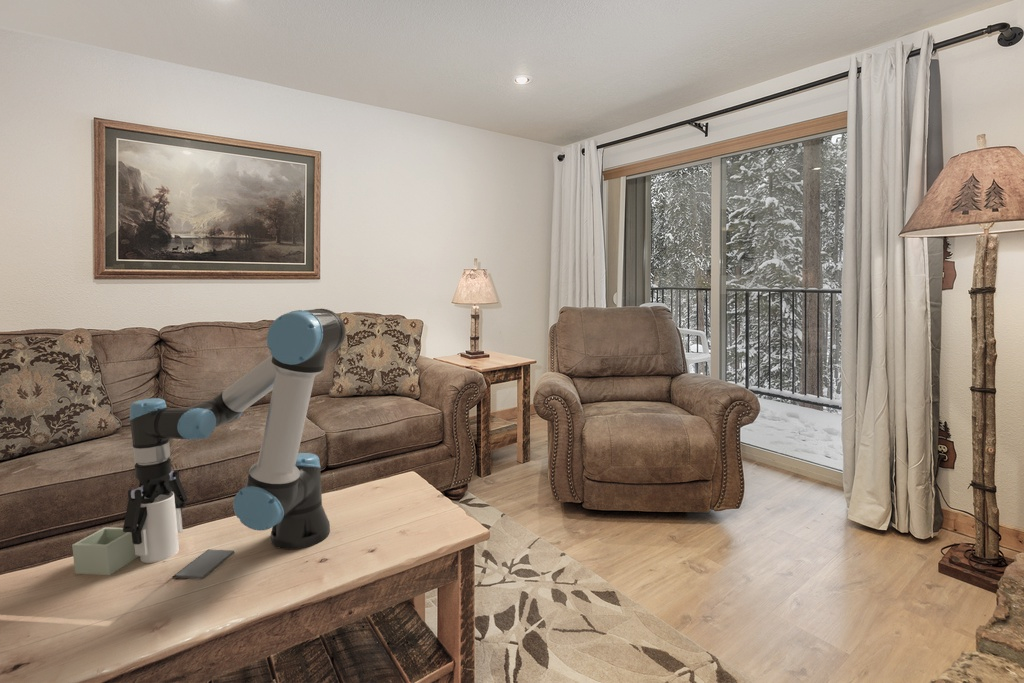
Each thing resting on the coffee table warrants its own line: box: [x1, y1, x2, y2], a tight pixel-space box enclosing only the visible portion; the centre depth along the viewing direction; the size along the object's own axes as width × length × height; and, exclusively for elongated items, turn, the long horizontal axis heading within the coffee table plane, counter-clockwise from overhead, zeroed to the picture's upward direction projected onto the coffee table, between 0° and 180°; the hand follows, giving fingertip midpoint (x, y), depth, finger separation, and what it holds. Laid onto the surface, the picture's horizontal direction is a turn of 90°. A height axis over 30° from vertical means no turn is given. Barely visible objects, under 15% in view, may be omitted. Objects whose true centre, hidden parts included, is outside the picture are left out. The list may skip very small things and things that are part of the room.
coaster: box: [171, 548, 235, 580], centre depth 129 cm, size 12×12×1 cm
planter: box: [71, 526, 140, 576], centre depth 128 cm, size 9×9×8 cm
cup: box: [137, 492, 180, 564], centre depth 132 cm, size 8×8×16 cm
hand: (160, 542), depth 133 cm, fingers open, 11 cm apart
